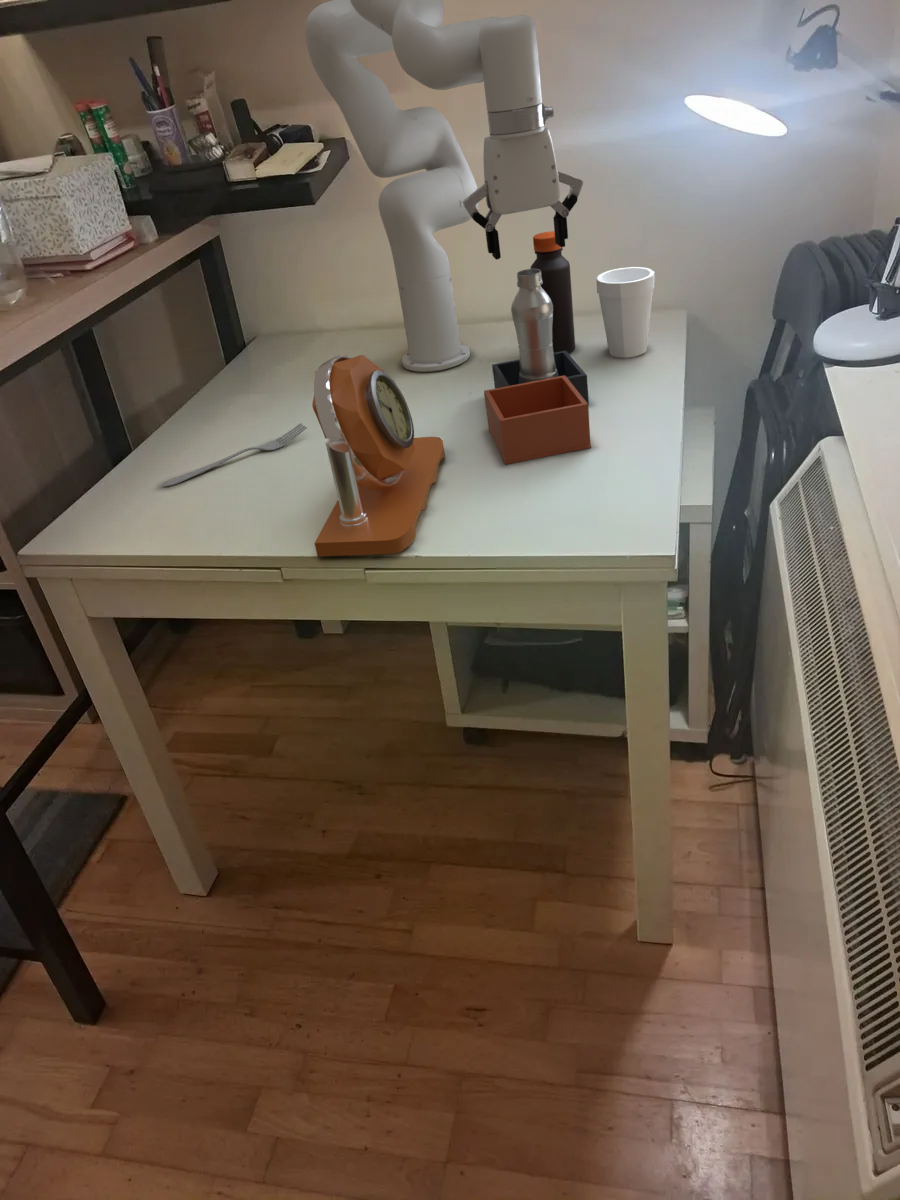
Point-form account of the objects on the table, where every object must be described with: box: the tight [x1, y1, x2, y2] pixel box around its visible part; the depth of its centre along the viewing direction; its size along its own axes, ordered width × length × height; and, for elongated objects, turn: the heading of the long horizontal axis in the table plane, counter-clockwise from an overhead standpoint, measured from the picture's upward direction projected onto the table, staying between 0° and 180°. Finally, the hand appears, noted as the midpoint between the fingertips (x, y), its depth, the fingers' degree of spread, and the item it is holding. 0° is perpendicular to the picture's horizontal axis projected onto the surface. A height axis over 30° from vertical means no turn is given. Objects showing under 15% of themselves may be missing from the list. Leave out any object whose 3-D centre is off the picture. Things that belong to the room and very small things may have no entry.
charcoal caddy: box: [491, 351, 590, 407], centre depth 149 cm, size 12×12×5 cm
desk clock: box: [311, 354, 446, 557], centre depth 122 cm, size 12×30×20 cm, turn 171°
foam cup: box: [595, 266, 656, 359], centre depth 159 cm, size 10×9×13 cm
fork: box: [162, 422, 308, 488], centre depth 146 cm, size 3×24×2 cm, turn 122°
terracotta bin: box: [483, 375, 592, 465], centre depth 136 cm, size 12×12×7 cm
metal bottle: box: [510, 268, 559, 384], centre depth 145 cm, size 6×7×20 cm
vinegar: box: [529, 230, 576, 355], centre depth 163 cm, size 7×7×20 cm
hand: (528, 251), depth 137 cm, fingers open, 9 cm apart
